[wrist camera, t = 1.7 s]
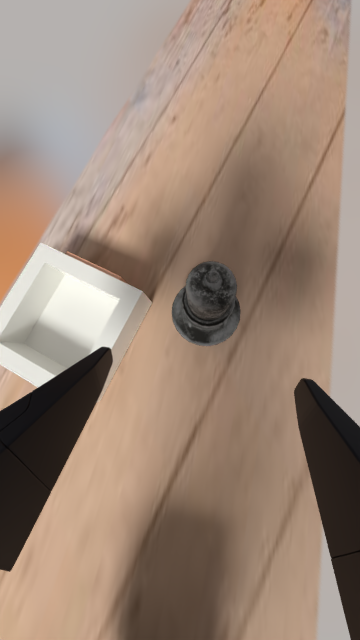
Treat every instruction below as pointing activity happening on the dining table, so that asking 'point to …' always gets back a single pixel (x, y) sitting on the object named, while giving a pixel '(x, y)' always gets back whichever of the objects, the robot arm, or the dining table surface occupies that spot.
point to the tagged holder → (66, 316)
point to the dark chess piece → (207, 305)
